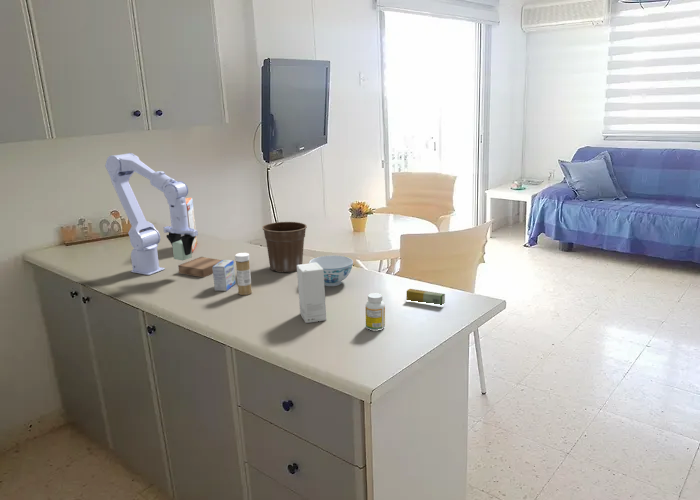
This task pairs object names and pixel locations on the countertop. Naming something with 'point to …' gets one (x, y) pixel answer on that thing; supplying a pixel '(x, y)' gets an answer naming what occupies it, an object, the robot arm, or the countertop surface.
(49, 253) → the countertop surface
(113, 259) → the countertop surface
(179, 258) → the sage block
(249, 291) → the sprinkles bottle
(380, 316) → the supplement bottle
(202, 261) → the walnut block
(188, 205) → the cracker box
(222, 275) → the medicine box
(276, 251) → the plant pot
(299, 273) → the skincare box
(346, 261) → the chinaware
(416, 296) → the medication box
